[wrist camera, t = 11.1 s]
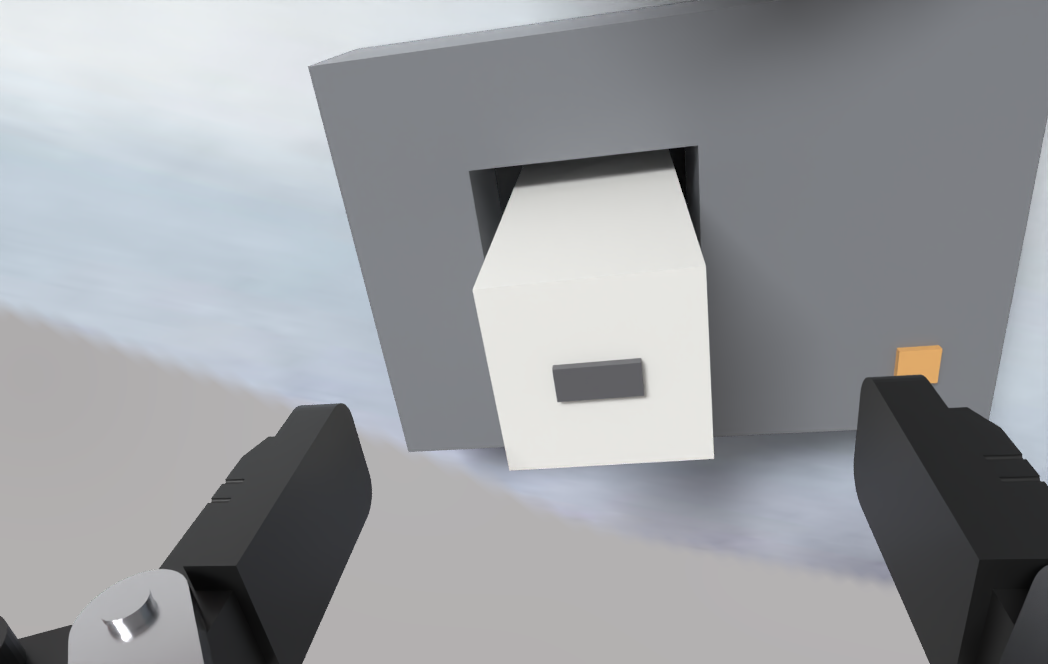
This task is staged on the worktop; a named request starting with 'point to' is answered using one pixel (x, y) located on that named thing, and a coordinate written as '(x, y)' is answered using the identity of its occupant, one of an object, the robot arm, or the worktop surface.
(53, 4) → the worktop surface
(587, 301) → the block
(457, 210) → the outlet block
